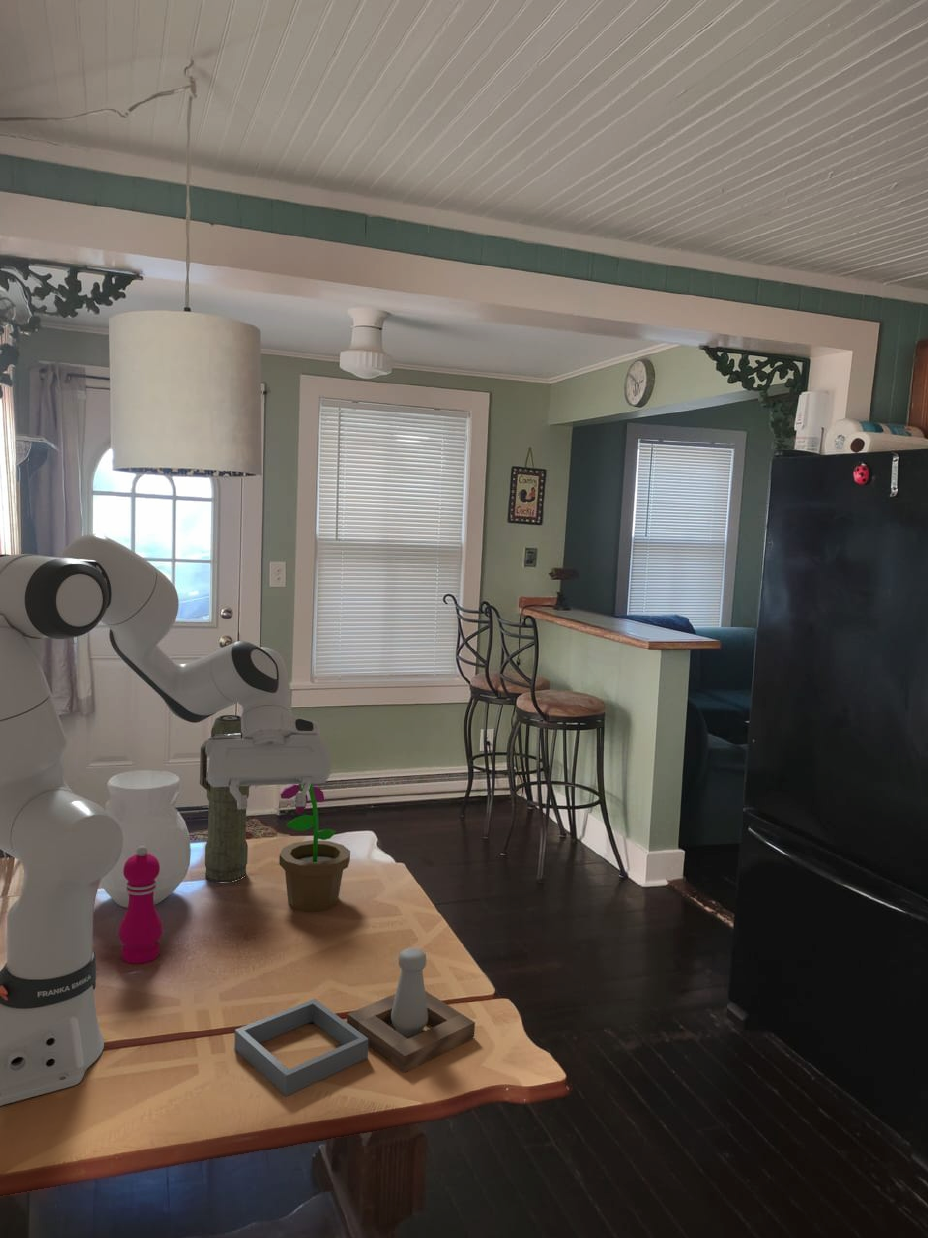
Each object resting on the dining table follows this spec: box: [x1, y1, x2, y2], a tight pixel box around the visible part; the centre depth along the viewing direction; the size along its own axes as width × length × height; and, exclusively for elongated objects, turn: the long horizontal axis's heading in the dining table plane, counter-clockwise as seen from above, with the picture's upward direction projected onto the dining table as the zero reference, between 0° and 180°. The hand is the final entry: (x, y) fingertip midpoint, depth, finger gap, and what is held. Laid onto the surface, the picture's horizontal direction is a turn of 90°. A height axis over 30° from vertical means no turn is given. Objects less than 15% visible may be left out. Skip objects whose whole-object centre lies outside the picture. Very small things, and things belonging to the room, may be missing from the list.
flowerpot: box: [278, 772, 351, 912], centre depth 182 cm, size 14×14×30 cm
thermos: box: [199, 714, 252, 884], centre depth 192 cm, size 9×12×35 cm
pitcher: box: [99, 769, 192, 909], centre depth 179 cm, size 19×18×25 cm
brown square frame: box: [346, 990, 476, 1073], centre depth 138 cm, size 14×14×2 cm
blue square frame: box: [233, 998, 369, 1097], centre depth 132 cm, size 14×14×3 cm
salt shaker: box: [391, 947, 428, 1039], centre depth 138 cm, size 6×6×13 cm
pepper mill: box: [118, 846, 163, 965], centre depth 157 cm, size 7×7×20 cm
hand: (272, 806), depth 146 cm, fingers open, 8 cm apart
